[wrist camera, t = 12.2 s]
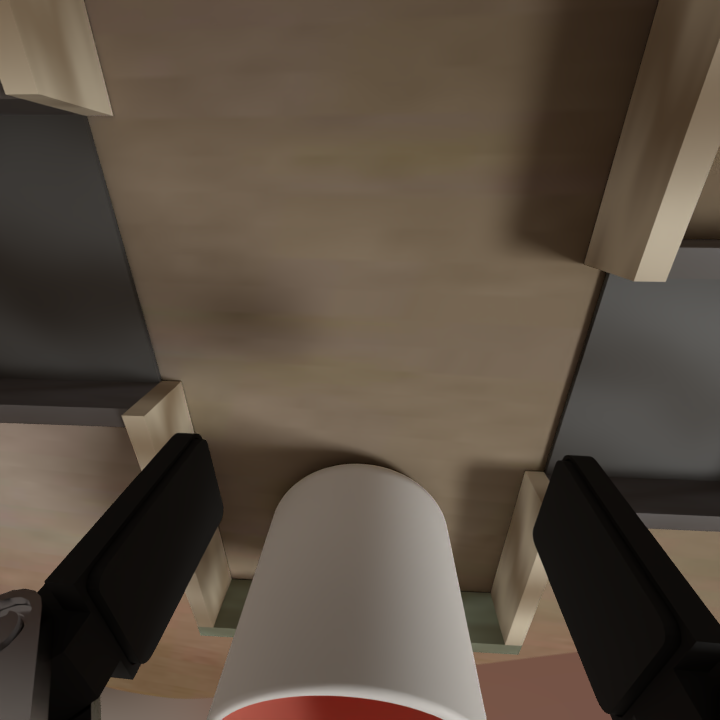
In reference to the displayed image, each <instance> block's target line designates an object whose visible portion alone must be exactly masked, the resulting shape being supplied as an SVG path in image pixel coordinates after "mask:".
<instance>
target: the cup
mask: <svg viewBox="0 0 720 720" xmlns="http://www.w3.org/2000/svg"><path fill="white" fill-rule="evenodd" d="M207 720H487V719H486V714H485V709H484V705H483V700H482V695H481V690H480V685H479V680H478V676H477V670H476V666H475V661H474V656H473V651H472V646H471V641H470V636H469V632H468V627H467V622H466V617H465V612H464V607H463V602H462V597H461V592H460V588H459V583H458V578H457V573H456V568H455V563H454V558H453V553H452V548H451V544H450V539H449V534H448V529H447V524H446V521H445V518H444V515H443V513H442V511H441V509H440V507H439V506H438V504H437V503H436V501H435V500H434V498H433V497H432V496H431V495H430V494H429V493H428V492H427V491H426V490H425V489H424V488H423V487H422V486H421V485H419V484H418V483H417V482H415V481H414V480H412V479H411V478H409V477H407V476H405V475H403V474H401V473H399V472H396V471H394V470H391V469H388V468H384V467H381V466H376V465H369V464H343V465H336V466H332V467H328V468H324V469H321V470H318V471H316V472H314V473H312V474H310V475H308V476H306V477H304V478H303V479H301V480H300V481H299V482H297V483H296V484H295V485H293V486H292V487H291V488H290V489H289V490H288V491H287V493H286V494H285V495H284V496H283V498H282V499H281V501H280V502H279V504H278V506H277V508H276V510H275V513H274V516H273V519H272V522H271V525H270V528H269V531H268V534H267V537H266V540H265V543H264V546H263V549H262V552H261V555H260V558H259V562H258V565H257V568H256V571H255V574H254V577H253V580H252V583H251V586H250V589H249V592H248V595H247V598H246V601H245V604H244V607H243V610H242V613H241V616H240V619H239V623H238V626H237V629H236V632H235V635H234V638H233V641H232V644H231V647H230V650H229V653H228V656H227V659H226V662H225V665H224V668H223V671H222V674H221V677H220V680H219V683H218V686H217V690H216V693H215V696H214V699H213V702H212V705H211V708H210V711H209V714H208V717H207Z"/></svg>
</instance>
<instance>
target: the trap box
mask: <svg viewBox="0 0 720 720" xmlns="http://www.w3.org/2000/svg"><path fill="white" fill-rule="evenodd" d="M87 116H113V113H112V109H111V105H110V101H109V97H108V93H107V89H106V85H105V81H104V77H103V74H102V70H101V66H100V62H99V58H98V54H97V50H96V46H95V42H94V38H93V34H92V31H91V27H90V23H89V19H88V15H87V11H86V7H85V3H84V0H0V423H23V424H51V425H80V426H108V427H126V429H127V432H128V435H129V438H130V441H131V443H132V446H133V449H134V452H135V454H136V457H137V460H138V463H139V465H140V468H141V471H142V470H143V469H144V468H145V467H146V466H147V464H148V463H149V462H150V461H151V460H152V459H153V458H154V456H155V455H156V454H157V453H158V452H159V451H160V450H161V448H162V447H163V446H164V445H165V444H166V443H167V442H168V441H169V439H170V438H171V437H172V436H173V435H174V434H176V433H192V434H194V430H193V426H192V422H191V418H190V414H189V410H188V406H187V402H186V398H185V394H184V391H183V387H182V383H181V381H162V380H161V376H160V373H159V369H158V366H157V362H156V359H155V355H154V352H153V348H152V345H151V341H150V338H149V334H148V331H147V327H146V324H145V320H144V316H143V313H142V309H141V306H140V302H139V299H138V295H137V292H136V288H135V285H134V281H133V278H132V274H131V271H130V267H129V264H128V260H127V257H126V253H125V250H124V246H123V242H122V239H121V235H120V232H119V228H118V225H117V221H116V218H115V214H114V211H113V207H112V204H111V200H110V197H109V193H108V190H107V186H106V183H105V179H104V176H103V172H102V168H101V165H100V161H99V158H98V154H97V151H96V147H95V144H94V140H93V137H92V133H91V130H90V126H89V123H88V119H87ZM719 146H720V0H659V2H658V6H657V9H656V13H655V16H654V20H653V23H652V27H651V30H650V34H649V37H648V41H647V44H646V48H645V51H644V55H643V58H642V62H641V65H640V69H639V72H638V76H637V79H636V83H635V86H634V90H633V93H632V97H631V100H630V104H629V108H628V111H627V115H626V118H625V122H624V125H623V129H622V132H621V136H620V139H619V143H618V146H617V150H616V153H615V157H614V160H613V164H612V167H611V171H610V174H609V178H608V181H607V185H606V188H605V192H604V195H603V199H602V202H601V206H600V209H599V213H598V217H597V220H596V224H595V227H594V231H593V234H592V238H591V241H590V245H589V248H588V252H587V255H586V259H585V262H584V265H587V266H590V267H593V268H596V269H599V270H602V271H605V272H607V274H606V277H605V280H604V283H603V287H602V290H601V293H600V296H599V299H598V302H597V306H596V309H595V312H594V315H593V318H592V321H591V324H590V328H589V331H588V334H587V337H586V340H585V343H584V347H583V350H582V353H581V356H580V359H579V362H578V366H577V369H576V372H575V375H574V378H573V381H572V385H571V388H570V391H569V394H568V397H567V400H566V403H565V407H564V410H563V413H562V416H561V419H560V422H559V426H558V429H557V432H556V435H555V438H554V441H553V445H552V448H551V451H550V454H549V457H548V460H547V464H546V467H545V470H544V472H536V471H525V473H524V477H523V480H522V484H521V487H520V491H519V494H518V498H517V501H516V505H515V508H514V512H513V515H512V519H511V522H510V526H509V529H508V533H507V536H506V540H505V544H504V547H503V551H502V554H501V558H500V561H499V565H498V568H497V572H496V575H495V579H494V582H493V586H492V589H491V593H481V592H463V591H460V592H461V597H462V602H463V607H464V612H465V617H466V622H467V627H468V632H469V636H470V641H471V646H472V651H473V652H484V653H500V654H517V655H518V654H519V652H520V649H521V647H522V644H523V642H524V639H525V637H526V634H527V632H528V629H529V626H530V624H531V621H532V619H533V616H534V614H535V611H536V609H537V606H538V604H539V601H540V599H541V596H542V594H543V591H544V589H545V586H546V583H547V581H548V577H547V574H546V572H545V569H544V567H543V564H542V562H541V559H540V557H539V554H538V552H537V549H536V547H535V544H534V541H533V528H534V525H535V522H536V519H537V516H538V513H539V510H540V507H541V505H542V502H543V499H544V496H545V493H546V490H547V487H548V484H549V481H550V478H551V476H552V473H553V470H554V467H555V464H556V462H557V461H558V460H562V459H563V457H564V456H566V455H578V456H591V457H593V458H594V459H595V460H596V461H597V462H598V463H599V465H600V466H601V467H602V469H603V470H604V471H605V473H606V474H607V475H608V477H609V478H610V479H611V481H612V482H613V483H614V485H615V486H616V487H617V489H618V490H619V491H620V493H621V494H622V495H623V497H624V498H625V499H626V501H627V502H628V503H629V505H630V506H631V507H632V509H633V510H634V511H635V513H636V514H637V515H638V517H639V518H640V519H641V521H642V522H643V523H644V525H645V526H646V527H647V528H650V529H672V530H695V531H717V532H720V240H712V239H683V237H684V234H685V232H686V229H687V227H688V224H689V222H690V219H691V216H692V214H693V211H694V209H695V206H696V204H697V201H698V199H699V196H700V194H701V191H702V189H703V186H704V184H705V181H706V179H707V176H708V173H709V171H710V168H711V166H712V163H713V161H714V158H715V156H716V153H717V151H718V148H719ZM251 583H252V580H238V579H232V578H231V574H230V570H229V567H228V563H227V559H226V555H225V551H224V547H223V543H222V539H221V535H220V531H219V527H217V529H216V531H215V533H214V535H213V537H212V539H211V541H210V543H209V545H208V547H207V549H206V551H205V553H204V555H203V557H202V559H201V560H200V562H199V564H198V566H197V568H196V570H195V572H194V574H193V576H192V578H191V580H190V582H189V584H188V586H187V588H186V590H185V593H186V596H187V598H188V601H189V604H190V607H191V610H192V612H193V615H194V618H195V621H196V623H197V626H198V629H199V632H200V635H204V636H220V637H234V635H235V632H236V629H237V626H238V623H239V619H240V616H241V613H242V610H243V607H244V604H245V601H246V598H247V595H248V592H249V589H250V586H251Z"/></svg>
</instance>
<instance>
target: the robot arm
mask: <svg viewBox="0 0 720 720" xmlns="http://www.w3.org/2000/svg"><path fill="white" fill-rule="evenodd" d="M222 516H223V504H222V500H221V496H220V492H219V488H218V484H217V480H216V476H215V472H214V468H213V464H212V460H211V456H210V452H209V448H208V444H207V441H206V440H203V439H202V437H201V436H200V435H199V434H192V433H176V434H174V435H173V436H172V437H171V438H170V439H169V441H168V442H167V443H166V444H165V445H164V446H163V447H162V448H161V450H160V451H159V452H158V453H157V454H156V455H155V456H154V458H153V459H152V460H151V461H150V462H149V463H148V464H147V466H146V467H145V468H144V469H143V470H142V471H141V472H140V473H139V475H138V476H137V477H136V478H135V479H134V480H133V481H132V483H131V484H130V485H129V486H128V487H127V488H126V489H125V491H124V492H123V493H122V494H121V495H120V496H119V497H118V498H117V500H116V501H115V502H114V503H113V504H112V505H111V506H110V508H109V509H108V510H107V511H106V512H105V513H104V514H103V516H102V517H101V518H100V519H99V520H98V521H97V522H96V523H95V525H94V526H93V527H92V528H91V529H90V530H89V531H88V533H87V534H86V535H85V536H84V537H83V538H82V539H81V541H80V542H79V543H78V544H77V545H76V546H75V547H74V548H73V550H72V551H71V552H70V553H69V554H68V555H67V556H66V558H65V559H64V560H63V561H62V562H61V563H60V564H59V566H58V567H57V568H56V569H55V570H54V571H53V572H52V573H51V575H50V576H49V577H48V578H47V579H46V580H45V581H44V582H45V584H44V586H43V587H42V588H41V589H40V590H39V591H38V592H36V591H34V590H29V589H19V590H12V591H9V592H7V593H4V594H1V595H0V720H101V705H100V695H101V693H102V691H103V689H104V688H105V686H106V684H107V682H108V681H109V679H110V677H114V678H123V679H132V680H133V678H134V677H135V675H136V673H137V671H138V669H139V667H140V665H141V664H144V663H146V662H147V661H148V660H149V659H150V657H151V656H152V654H153V652H154V650H155V649H156V647H157V645H158V643H159V641H160V639H161V637H162V635H163V633H164V631H165V629H166V627H167V625H168V623H169V621H170V619H171V617H172V615H173V613H174V611H175V609H176V607H177V605H178V604H179V602H180V600H181V598H182V596H183V594H184V592H185V590H186V588H187V586H188V584H189V582H190V580H191V578H192V576H193V574H194V572H195V570H196V568H197V566H198V564H199V562H200V560H201V559H202V557H203V555H204V553H205V551H206V549H207V547H208V545H209V543H210V541H211V539H212V537H213V535H214V533H215V531H216V529H217V527H218V525H219V523H220V521H221V519H222ZM533 541H534V544H535V547H536V549H537V552H538V554H539V557H540V559H541V562H542V564H543V567H544V569H545V572H546V574H547V577H548V579H549V582H550V584H551V587H552V589H553V592H554V594H555V597H556V599H557V602H558V604H559V607H560V609H561V612H562V614H563V617H564V619H565V621H566V624H567V626H568V629H569V631H570V634H571V636H572V639H573V641H574V644H575V646H576V649H577V651H578V654H579V656H580V659H581V661H582V664H583V666H584V669H585V671H586V674H587V676H588V678H589V681H590V683H591V686H592V688H593V691H594V693H595V696H596V698H597V701H598V702H599V705H600V706H601V708H602V709H603V710H604V712H606V713H608V714H610V715H611V717H612V720H720V624H719V623H718V622H717V620H716V619H715V618H714V616H713V615H712V614H711V612H710V611H709V610H708V608H707V607H706V606H705V604H704V603H703V602H702V600H701V599H700V598H699V596H698V595H697V594H696V592H695V591H694V590H693V588H692V587H691V586H690V584H689V583H688V582H687V580H686V579H685V578H684V576H683V575H682V574H681V572H680V571H679V570H678V568H677V567H676V566H675V564H674V563H673V562H672V560H671V559H670V558H669V556H668V555H667V554H666V552H665V551H664V550H663V548H662V547H661V546H660V544H659V543H658V542H657V541H656V539H655V538H654V537H653V535H652V534H651V533H650V531H649V530H648V529H647V527H646V526H645V525H644V523H643V522H642V521H641V519H640V518H639V517H638V515H637V514H636V513H635V511H634V510H633V509H632V507H631V506H630V505H629V503H628V502H627V501H626V499H625V498H624V497H623V495H622V494H621V493H620V491H619V490H618V489H617V487H616V486H615V485H614V483H613V482H612V481H611V479H610V478H609V477H608V475H607V474H606V473H605V471H604V470H603V469H602V467H601V466H600V465H599V463H598V462H597V461H596V460H595V459H594V458H593V457H591V456H578V455H566V456H564V457H563V459H562V460H558V461H557V462H556V464H555V467H554V470H553V473H552V476H551V478H550V481H549V484H548V487H547V490H546V493H545V496H544V499H543V502H542V505H541V507H540V510H539V513H538V516H537V519H536V522H535V525H534V528H533Z"/></svg>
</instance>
